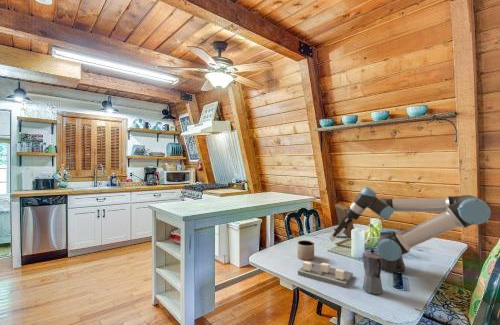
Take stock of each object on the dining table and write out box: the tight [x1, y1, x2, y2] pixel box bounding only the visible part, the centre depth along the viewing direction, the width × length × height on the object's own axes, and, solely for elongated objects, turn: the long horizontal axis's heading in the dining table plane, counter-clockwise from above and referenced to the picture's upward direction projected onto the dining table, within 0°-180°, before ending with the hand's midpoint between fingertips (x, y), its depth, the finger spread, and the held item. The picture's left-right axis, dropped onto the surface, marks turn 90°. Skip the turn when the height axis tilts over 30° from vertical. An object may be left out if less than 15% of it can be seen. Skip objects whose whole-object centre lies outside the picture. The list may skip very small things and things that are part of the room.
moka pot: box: [362, 249, 383, 295], centre depth 128 cm, size 10×15×20 cm, turn 2°
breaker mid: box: [320, 262, 331, 273], centre depth 145 cm, size 4×3×4 cm
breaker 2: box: [335, 268, 346, 280], centre depth 137 cm, size 4×3×4 cm
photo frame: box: [334, 203, 355, 240], centre depth 219 cm, size 15×22×25 cm
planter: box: [296, 240, 315, 261], centre depth 171 cm, size 11×11×10 cm
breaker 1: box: [302, 260, 313, 271], centre depth 147 cm, size 4×3×4 cm
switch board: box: [297, 262, 354, 289], centre depth 145 cm, size 26×15×2 cm, turn 56°
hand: (334, 237), depth 159 cm, fingers open, 13 cm apart
